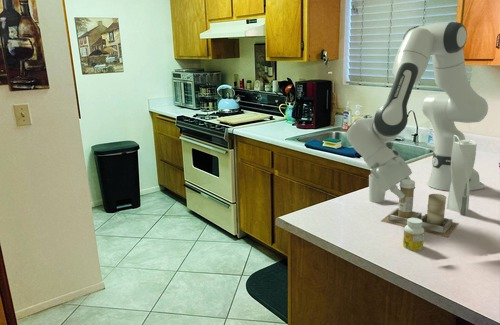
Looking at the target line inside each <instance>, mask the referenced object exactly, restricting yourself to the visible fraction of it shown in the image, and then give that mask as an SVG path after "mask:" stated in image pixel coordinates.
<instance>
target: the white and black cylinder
mask: <svg viewBox="0 0 500 325" xmlns="http://www.w3.org/2000/svg"><path fill="white" fill-rule="evenodd" d="M385 196H386V192H384V191H382V190H381V189H380V188H379V186H378V185H377V184H376V182H375V181H374V179H373V177H372V173H370V174H369V175H368V200H369V201H370V202H372V203H377V204H379V203H380V204H381V203H384V202H385V199H386V198H385Z"/></svg>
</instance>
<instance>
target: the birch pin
mask: <svg viewBox="0 0 500 325" xmlns="http://www.w3.org/2000/svg"><path fill="white" fill-rule="evenodd" d="M446 201H447V196H445V195H444V194H441V193H430V194H429V195H428V201H427V211H426V214H427V220H426V223H429V224H433V225H438V226H442V227H443V223H444V218H445V212H446V205H447V202H446Z"/></svg>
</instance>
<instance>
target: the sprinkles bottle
mask: <svg viewBox="0 0 500 325" xmlns="http://www.w3.org/2000/svg"><path fill="white" fill-rule="evenodd" d="M399 187H400V189H399V190H400V191H401V192H402V191H403V192H404V194H405V197H403V198H402V199H399V198H398V208H399V211H398V217H403V218H407V219H408V218H412V211H413V206H414V190H415V189H414V187H415V188H416V182H415V181H414V180H413V179H411V180H408V179H404V180H401V181H400V182H399Z"/></svg>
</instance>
